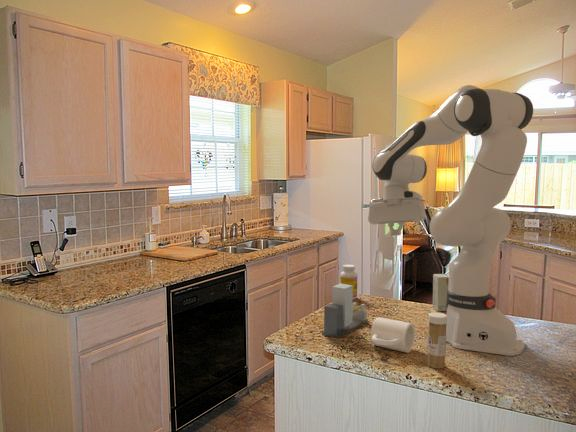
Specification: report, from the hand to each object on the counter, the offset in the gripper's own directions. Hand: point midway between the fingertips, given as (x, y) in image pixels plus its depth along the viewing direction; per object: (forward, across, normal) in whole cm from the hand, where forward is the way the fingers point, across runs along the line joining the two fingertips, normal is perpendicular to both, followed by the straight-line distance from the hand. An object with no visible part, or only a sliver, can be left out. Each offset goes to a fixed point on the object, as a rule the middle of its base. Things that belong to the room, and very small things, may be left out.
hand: (395, 235), depth 168 cm
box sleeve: (+31, -8, -22) cm, 39 cm away
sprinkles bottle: (+40, +24, -30) cm, 55 cm away
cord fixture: (+32, -9, -19) cm, 38 cm away
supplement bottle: (+22, -24, +11) cm, 35 cm away
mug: (+37, +10, -28) cm, 48 cm away
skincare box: (+25, +10, +18) cm, 32 cm away
